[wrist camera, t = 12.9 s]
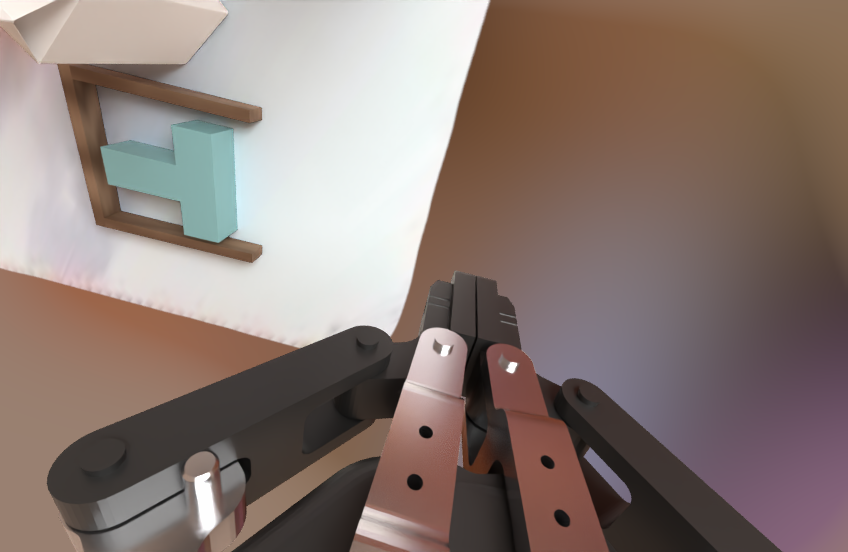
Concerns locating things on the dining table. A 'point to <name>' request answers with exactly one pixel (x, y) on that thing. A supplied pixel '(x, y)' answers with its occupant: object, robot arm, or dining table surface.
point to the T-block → (184, 175)
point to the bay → (92, 136)
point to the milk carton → (111, 29)
